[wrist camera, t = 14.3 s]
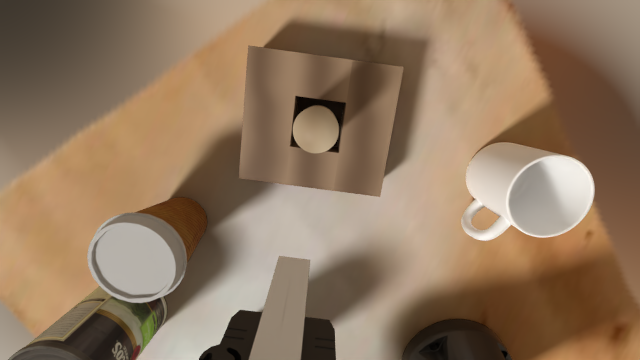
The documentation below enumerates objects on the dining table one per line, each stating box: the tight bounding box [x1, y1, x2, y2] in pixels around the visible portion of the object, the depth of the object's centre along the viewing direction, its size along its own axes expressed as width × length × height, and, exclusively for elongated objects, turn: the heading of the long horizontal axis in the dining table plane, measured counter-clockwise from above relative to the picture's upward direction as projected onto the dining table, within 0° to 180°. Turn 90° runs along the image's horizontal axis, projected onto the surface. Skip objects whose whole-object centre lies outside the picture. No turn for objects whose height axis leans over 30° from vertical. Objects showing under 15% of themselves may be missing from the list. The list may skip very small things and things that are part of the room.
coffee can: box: [8, 286, 167, 360], centre depth 40 cm, size 10×10×14 cm
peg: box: [293, 105, 339, 153], centre depth 34 cm, size 4×4×12 cm
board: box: [239, 46, 404, 197], centre depth 38 cm, size 16×14×5 cm
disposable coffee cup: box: [87, 197, 207, 303], centre depth 38 cm, size 10×10×12 cm
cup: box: [461, 142, 594, 241], centre depth 37 cm, size 8×12×10 cm
